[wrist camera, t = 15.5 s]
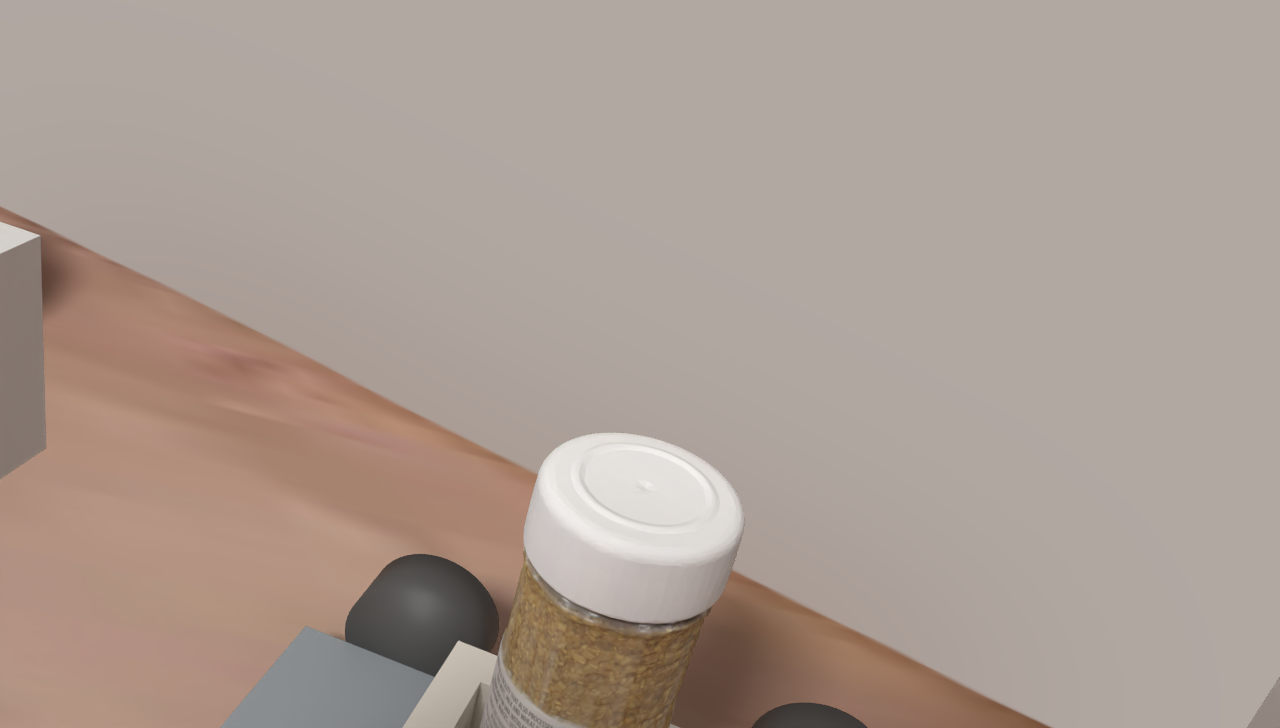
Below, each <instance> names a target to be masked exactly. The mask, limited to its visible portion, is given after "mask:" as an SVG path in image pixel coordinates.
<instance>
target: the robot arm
mask: <svg viewBox="0 0 1280 728" xmlns="http://www.w3.org/2000/svg"><path fill="white" fill-rule="evenodd" d="M44 449H46V421H45V384H44V346H43V308H42V270H41V236H40V235H37V234H35V233H32V232H29V231H26V230H23V229H20V228H17V227H14V226H11V225H8V224H5V223H2V222H0V479H1V478H3V477H4V476H6V475H7V474H9V473H10V472H12V471H13V470H15V469H16V468H18V467H19V466H21V465H22V464H24V463H25V462H27V461H28V460H29V459H31V458H32V457H34V456H35V455H37V454H38V453H40V452H41V451H43V450H44ZM1247 728H1280V677H1279V679H1278V680H1277V682H1276V683H1275V685H1274V686H1273V688H1272V690H1271V691H1270V693H1269V694H1268V696H1267V697H1266V699H1265V700H1264V702H1263V704H1262V705H1261V707H1260V708H1259V710H1258V711H1257V713H1256V715H1255V716H1254V718H1253V719H1252V721H1251V722H1250V724H1249V726H1248V727H1247Z"/></svg>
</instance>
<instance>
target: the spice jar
mask: <svg viewBox="0 0 1280 728" xmlns="http://www.w3.org/2000/svg"><path fill="white" fill-rule="evenodd" d="M744 521H745V519H744V512H743V507H742V504H741V501H740V499H739V497H738V495H737V494H736V491H735V490H734V489H733V487H732V486H731V485H730V484H729V482H728V481H727V480H726V479H725V478H724V477H723V476H722V475H721V474H720V473H719V472H718V471H717V470H716V469H714V468H713V467H712V466H711V465H709V464H708V463H707V462H705V461H704V460H702V459H700V458H699V457H697V456H695V455H694V454H692V453H690V452H688V451H686V450H684V449H682V448H680V447H677V446H675V445H672V444H669V443H667V442H664V441H661V440H658V439H654V438H650V437H646V436H640V435H634V434H625V433H597V434H590V435H585V436H581V437H578V438H575V439H572V440H570V441H567V442H565V443H563V444H562V445H560V446H559V447H557V448H556V449H554V450H553V451H552V452H551V453H550V454H549V456H548V457H547V458H546V459H545V461H544V462H543V464H542V466H541V468H540V470H539V473H538V477H537V480H536V483H535V487H534V490H533V494H532V498H531V502H530V506H529V510H528V514H527V518H526V522H525V526H524V545H525V547H524V548H523V554H524V564H523V568H522V571H521V574H520V579H519V583H518V587H517V592H516V595H515V598H514V601H513V608H512V610H511V614H510V619H509V624H508V626H507V628H506V629H505V631H504V634H503V637H502V640H501V644H500V648H499V652H498V656H497V660H496V664H495V668H494V672H493V676H492V680H491V684H490V688H489V692H488V696H487V700H486V704H485V708H484V713H483V717H482V721H481V725H480V728H669V727H670V724H671V721H672V717H673V714H674V710H675V704H676V698H677V695H678V692H679V690H680V687H681V685H682V682H683V679H684V676H685V673H686V670H687V667H688V664H689V661H690V658H691V656H692V653H693V649H694V647H695V645H696V642H697V639H698V636H699V632H700V628H701V626H702V624H703V622H704V617H706V616H707V615H708V614H709V612H710V610H711V608H712V606H713V604H714V603H715V602H716V601H717V600H718V599H719V598H720V596H721V595H722V593H723V591H724V590H725V587H726V584H727V581H728V579H729V576H730V573H731V570H732V567H733V564H734V561H735V558H736V555H737V551H738V548H739V545H740V542H741V538H742V535H743V530H744Z"/></svg>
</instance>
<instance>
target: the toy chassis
mask: <svg viewBox="0 0 1280 728" xmlns="http://www.w3.org/2000/svg"><path fill="white" fill-rule="evenodd" d="M498 631H499V619H498V613H497V610H496V607H495V604H494V602H493V600H492V598H491V596H490V594H489V593H488V591H487V590H486V589H485V587H484V586H483V585H482V584H481V582H480V581H479V580H478V579H477V578H476V577H475V576H473V575H472V574H471V573H470V572H469V571H467V570H466V569H464V568H463V567H461V566H460V565H458V564H456V563H454V562H452V561H450V560H447V559H444V558H441V557H438V556H433V555H426V554H413V555H407V556H403V557H400V558H398V559H396V560H394V561H392V562H391V563H389V564H388V565H387V566H386V567H385V568H384V569H383V570H382V571H381V573H380V574H379V575H378V576H377V577H376V579H375V580H374V581H373V582H372V584H371V585H370V586H369V587H368V589H367V590H366V591H365V592H364V594H363V595H362V596H361V597H360V599H359V600H358V601H357V602H356V604H355V605H354V606H353V608H352V609H351V611H350V612H349V615H348V617H347V621H346V626H345V638H346V642H345V641H343V640H340V639H338V638H335V637H333V636H330V635H328V634H325V633H323V632H320V631H317V630H315V629H312V628H310V627H307V626H305V628H304V629H303V630H302V631H301V632H300V634H299V635H298V636H297V637H296V638H295V639H294V641H293V642H292V643H291V644H290V645H289V647H288V648H287V649H286V650H285V651H284V653H283V654H282V655H281V656H280V657H279V658H278V660H277V661H276V662H275V663H274V664H273V666H272V667H271V668H270V669H269V670H268V671H267V673H266V674H265V675H264V676H263V677H262V679H261V680H260V681H259V682H258V683H257V685H256V686H255V687H254V688H253V689H252V690H251V692H250V693H249V694H248V695H247V696H246V698H245V699H244V700H243V701H242V702H241V703H240V705H239V706H238V707H237V708H236V709H235V711H234V712H233V713H232V714H231V715H230V717H229V718H228V719H227V720H226V721H225V722H224V724H223V725H222V726H221V727H220V728H480V725H481V721H482V717H483V713H484V708H485V704H486V700H487V696H488V692H489V688H490V684H491V680H492V676H493V672H494V668H495V664H496V660H497V656H496V655H494V654H491V653H490V651H491V649H492V648H493V646H494V644H495V642H496V639H497V636H498ZM669 728H680V727H678V726H675V725H673V724H670V727H669ZM752 728H867V727H866V726H865V725H864V724H863V723H862V722H860V721H859V720H857V719H856V718H855V717H853V716H851V715H849V714H848V713H846V712H843V711H841V710H839V709H836V708H833V707H830V706H826V705H822V704H816V703H792V704H787V705H783V706H780V707H777V708H774V709H772V710H770V711H768V712H767V713H765V714H764V715H763V716H761V717H760V718H759V719H758V720H757V721H756V722H755V724H754V725H753V726H752Z"/></svg>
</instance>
